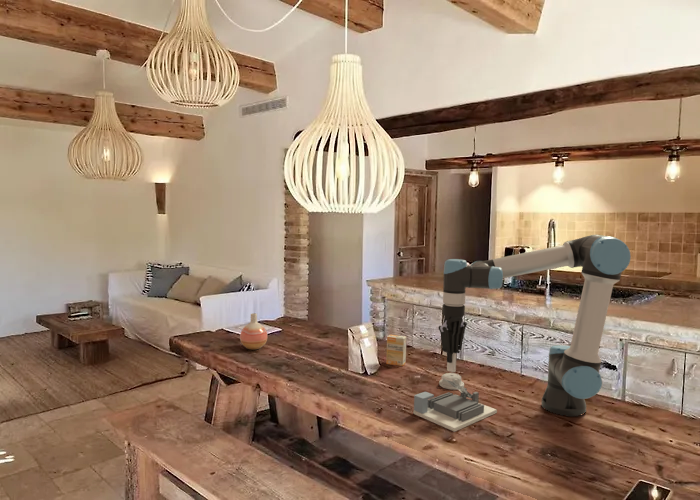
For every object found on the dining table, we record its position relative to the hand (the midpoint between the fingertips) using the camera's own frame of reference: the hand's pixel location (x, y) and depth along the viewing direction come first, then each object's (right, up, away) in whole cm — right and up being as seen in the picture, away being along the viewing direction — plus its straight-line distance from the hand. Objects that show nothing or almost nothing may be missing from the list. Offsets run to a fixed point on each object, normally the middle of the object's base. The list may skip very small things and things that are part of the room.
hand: (451, 370), depth 176 cm
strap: (+3, -8, +3) cm, 9 cm away
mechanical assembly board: (+2, -16, +3) cm, 16 cm away
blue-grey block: (-9, -14, +3) cm, 17 cm away
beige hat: (+6, -14, +31) cm, 35 cm away
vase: (-84, -8, +79) cm, 116 cm away
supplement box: (-14, -11, +58) cm, 60 cm away
